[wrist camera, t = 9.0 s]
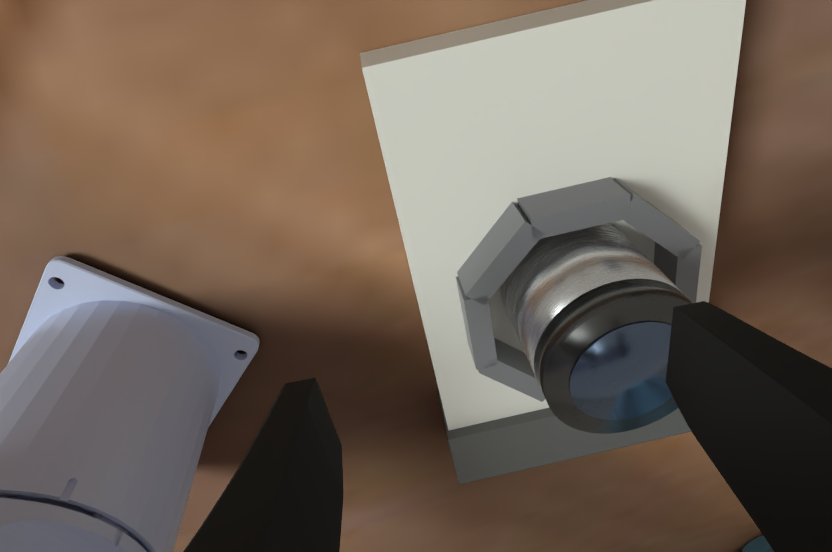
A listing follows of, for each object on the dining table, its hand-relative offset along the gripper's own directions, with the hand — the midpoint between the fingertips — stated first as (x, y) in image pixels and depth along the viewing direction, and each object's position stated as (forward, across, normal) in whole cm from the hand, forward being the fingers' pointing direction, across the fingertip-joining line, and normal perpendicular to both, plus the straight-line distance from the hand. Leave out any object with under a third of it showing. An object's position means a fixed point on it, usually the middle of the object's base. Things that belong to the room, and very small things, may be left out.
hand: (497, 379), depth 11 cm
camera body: (+10, -4, +4) cm, 12 cm away
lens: (+8, -4, +4) cm, 10 cm away
